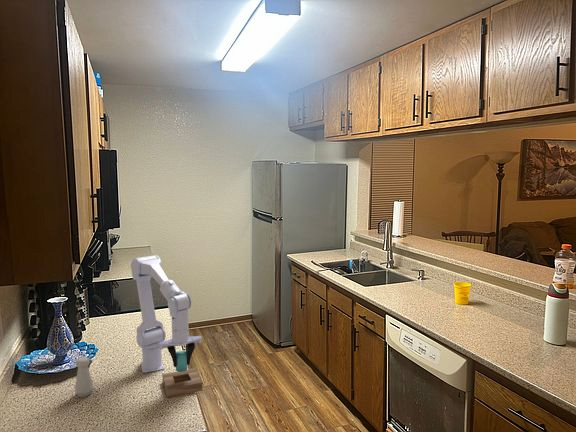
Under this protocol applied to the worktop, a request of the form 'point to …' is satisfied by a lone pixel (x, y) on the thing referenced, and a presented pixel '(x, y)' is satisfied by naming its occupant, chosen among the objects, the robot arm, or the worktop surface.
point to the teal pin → (181, 361)
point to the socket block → (182, 382)
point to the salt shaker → (83, 378)
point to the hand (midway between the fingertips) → (181, 364)
